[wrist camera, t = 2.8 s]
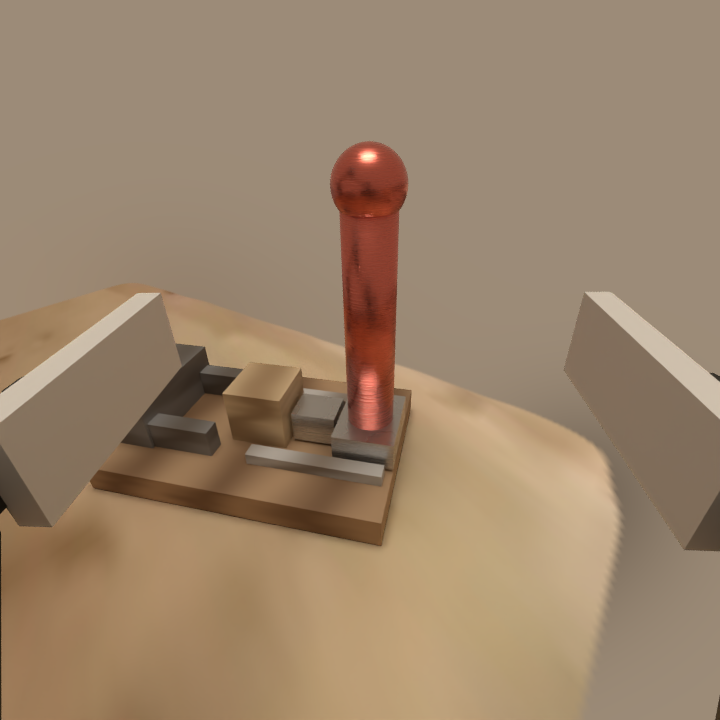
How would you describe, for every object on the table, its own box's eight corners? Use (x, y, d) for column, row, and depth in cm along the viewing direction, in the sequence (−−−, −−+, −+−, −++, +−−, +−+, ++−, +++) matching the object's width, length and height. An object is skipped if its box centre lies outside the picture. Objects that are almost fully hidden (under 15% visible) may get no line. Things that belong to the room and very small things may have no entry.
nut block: (232, 439, 29) (222, 393, 27) (257, 405, 33) (249, 362, 31) (286, 447, 29) (279, 401, 26) (305, 412, 32) (301, 368, 30)
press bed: (93, 487, 28) (60, 424, 26) (198, 381, 39) (184, 328, 36) (381, 545, 24) (382, 478, 21) (410, 409, 35) (413, 352, 32)
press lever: (286, 452, 28) (240, 146, 18) (311, 405, 32) (285, 137, 23) (393, 470, 26) (403, 146, 17) (404, 418, 31) (418, 137, 21)
